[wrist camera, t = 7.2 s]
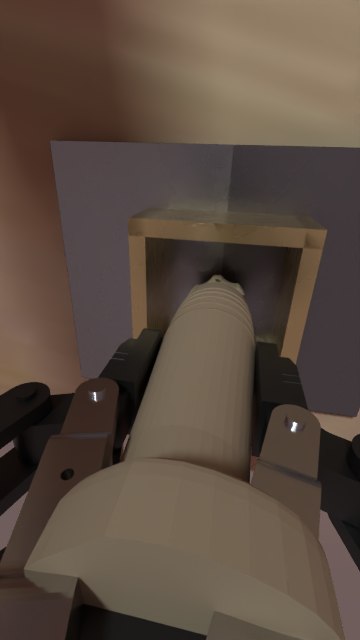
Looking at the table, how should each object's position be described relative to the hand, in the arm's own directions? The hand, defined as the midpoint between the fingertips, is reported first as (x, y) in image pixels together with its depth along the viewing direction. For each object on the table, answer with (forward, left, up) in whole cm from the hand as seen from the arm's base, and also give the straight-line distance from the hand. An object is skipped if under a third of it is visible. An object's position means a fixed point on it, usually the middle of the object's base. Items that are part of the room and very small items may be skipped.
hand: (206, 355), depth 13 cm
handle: (0, 0, -6) cm, 6 cm away
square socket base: (0, 0, -8) cm, 8 cm away
